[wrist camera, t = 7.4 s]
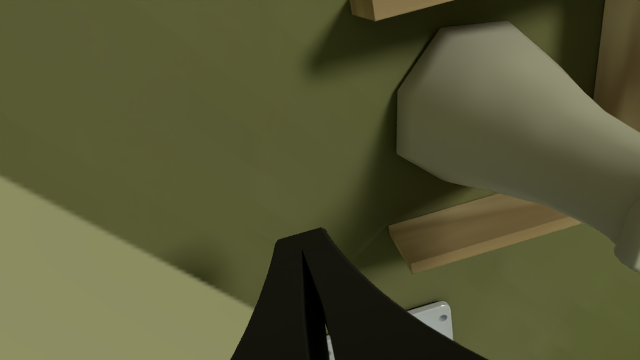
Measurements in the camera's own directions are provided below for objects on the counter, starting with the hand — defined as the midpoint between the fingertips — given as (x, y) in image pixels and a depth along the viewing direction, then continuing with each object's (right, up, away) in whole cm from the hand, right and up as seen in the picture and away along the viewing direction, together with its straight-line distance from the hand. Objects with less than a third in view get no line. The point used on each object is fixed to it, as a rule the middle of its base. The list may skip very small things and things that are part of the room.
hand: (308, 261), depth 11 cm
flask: (+7, +6, +7) cm, 11 cm away
